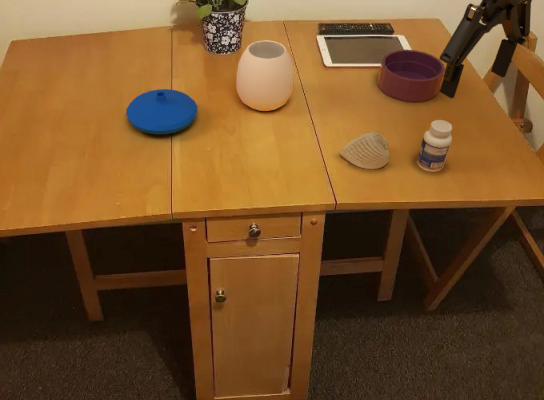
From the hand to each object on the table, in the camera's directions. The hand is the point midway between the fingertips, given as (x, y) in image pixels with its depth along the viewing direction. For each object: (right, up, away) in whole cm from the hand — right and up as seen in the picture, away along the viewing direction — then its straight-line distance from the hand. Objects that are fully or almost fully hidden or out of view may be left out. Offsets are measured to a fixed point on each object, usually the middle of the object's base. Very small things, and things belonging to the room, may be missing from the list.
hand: (472, 84), depth 107 cm
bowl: (-1, +6, +34) cm, 34 cm away
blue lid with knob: (-60, -4, +24) cm, 64 cm away
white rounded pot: (-37, +2, +29) cm, 47 cm away
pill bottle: (-4, -14, +12) cm, 19 cm away
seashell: (-16, -13, +14) cm, 25 cm away
